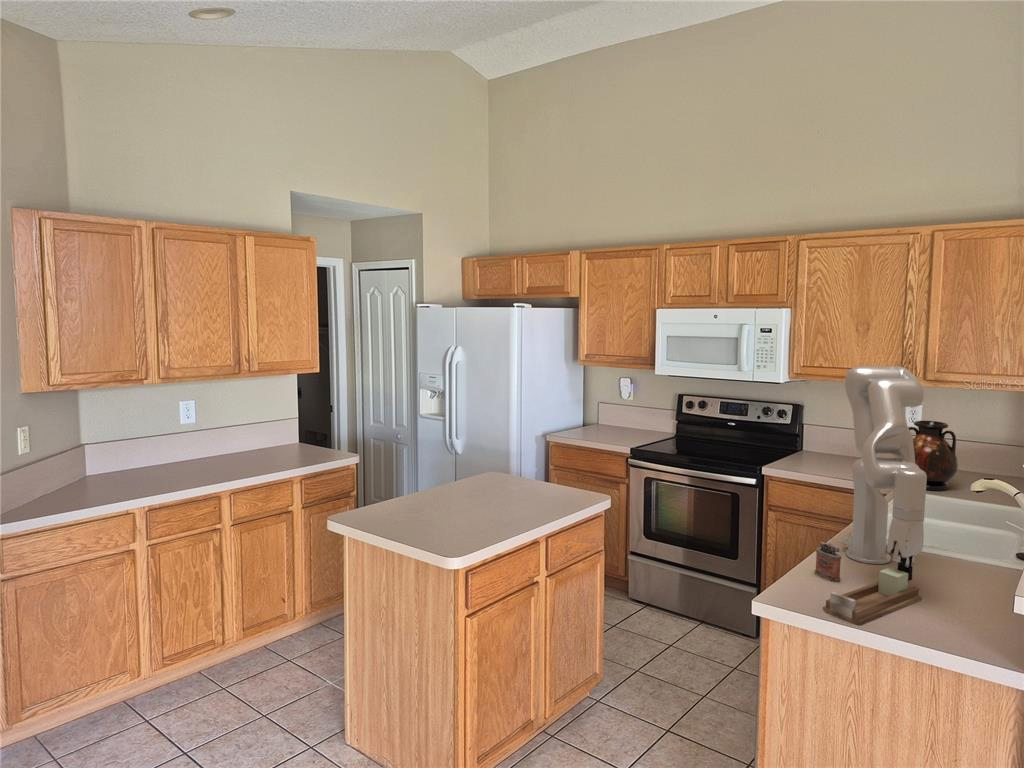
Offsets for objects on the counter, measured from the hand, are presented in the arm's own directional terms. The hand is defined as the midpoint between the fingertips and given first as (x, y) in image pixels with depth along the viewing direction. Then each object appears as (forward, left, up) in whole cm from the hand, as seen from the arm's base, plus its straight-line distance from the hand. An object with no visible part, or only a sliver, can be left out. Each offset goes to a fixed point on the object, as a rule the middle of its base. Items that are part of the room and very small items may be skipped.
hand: (904, 579), depth 190 cm
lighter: (-18, -7, -4) cm, 20 cm away
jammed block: (0, -5, -3) cm, 6 cm away
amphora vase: (-57, +120, -4) cm, 133 cm away
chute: (0, -14, -4) cm, 15 cm away
